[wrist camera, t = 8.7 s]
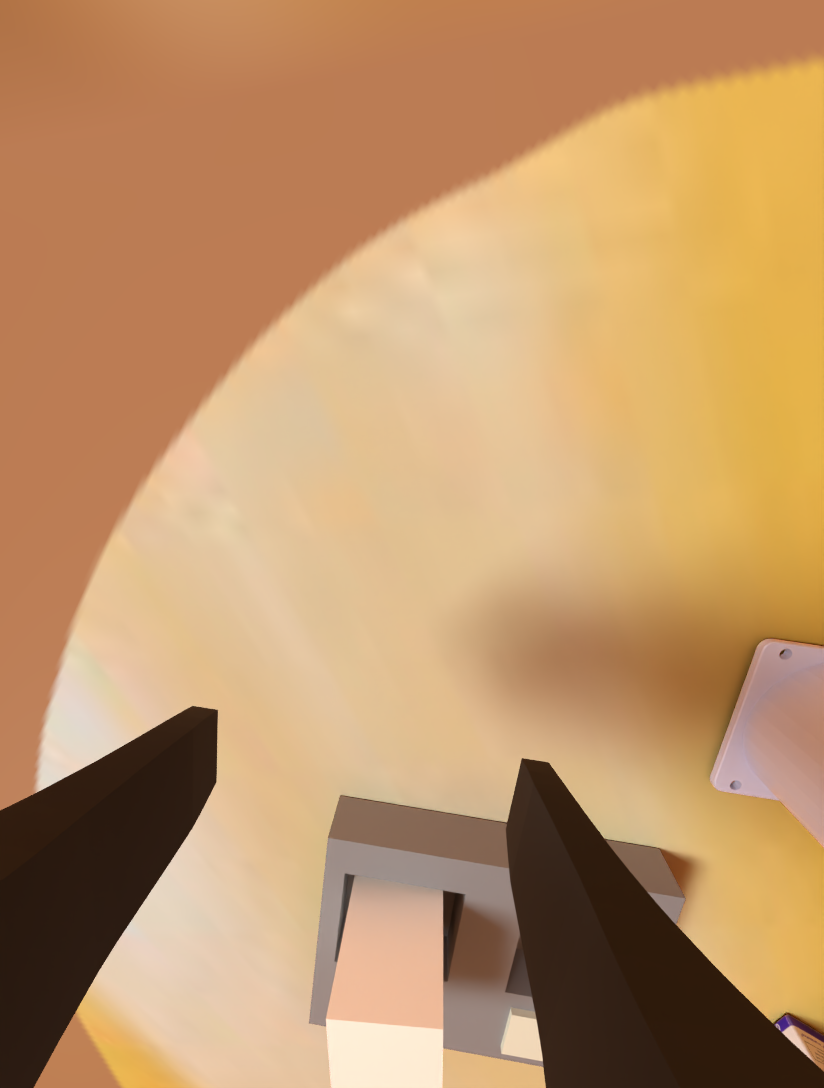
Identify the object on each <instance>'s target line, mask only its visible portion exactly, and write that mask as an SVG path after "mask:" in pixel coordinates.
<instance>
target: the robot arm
mask: <svg viewBox="0 0 824 1088" xmlns="http://www.w3.org/2000/svg"><path fill="white" fill-rule="evenodd" d="M784 649H785V651H784V653H783V654H781V655H779V654H780V652H781V651H782V650H784ZM217 721H218V710H215V709H208V708H202V707H196V706H192V707H190V708H188V709H186V710H184V711H183V712H181V713H179V714H177V715H176V716H174V717H172V718H170V719H169V720H167V721H165V722H163V723H162V724H160V725H158V726H157V727H155V728H153V729H151V730H150V731H148V732H146V733H145V734H143V735H141V736H140V737H138V738H136V739H134V740H133V741H131V742H129V743H127V744H126V745H124V746H122V747H120V748H119V749H117V750H115V751H113V752H112V753H110V754H108V755H106V756H105V757H103V758H101V759H99V760H98V761H96V762H94V763H92V764H90V765H88V766H86V767H84V768H83V769H81V770H79V771H77V772H75V773H73V774H71V775H69V776H68V777H66V778H64V779H62V780H60V781H58V782H56V783H54V784H52V785H51V786H49V787H47V788H45V789H43V790H41V791H39V792H37V793H35V794H33V795H31V796H29V797H27V798H25V799H23V800H21V801H19V802H17V803H15V804H13V805H11V806H9V807H7V808H5V809H3V810H1V811H0V1088H34V1086H35V1084H36V1082H37V1080H38V1078H39V1077H40V1075H41V1073H42V1071H43V1069H44V1067H45V1066H46V1064H47V1062H48V1060H49V1058H50V1056H51V1055H52V1053H53V1051H54V1049H55V1047H56V1046H57V1044H58V1042H59V1040H60V1038H61V1036H62V1035H63V1033H64V1031H65V1030H66V1028H67V1026H68V1024H69V1023H70V1021H71V1019H72V1017H73V1015H74V1014H75V1012H76V1010H77V1008H78V1007H79V1005H80V1003H81V1001H82V1000H83V998H84V996H85V994H86V993H87V991H88V989H89V987H90V986H91V984H92V982H93V980H94V978H95V977H96V975H97V973H98V972H99V970H100V968H101V967H102V965H103V964H104V962H105V960H106V959H107V957H108V955H109V954H110V952H111V951H112V949H113V947H114V946H115V944H116V943H117V941H118V940H119V938H120V937H121V935H122V934H123V932H124V931H125V929H126V928H127V926H128V925H129V923H130V922H131V920H132V919H133V917H134V916H135V914H136V913H137V911H138V910H139V908H140V907H141V905H142V904H143V902H144V901H145V899H146V898H147V896H148V895H149V893H150V892H151V890H152V889H153V887H154V886H155V884H156V883H157V881H158V880H159V878H160V877H161V875H162V874H163V872H164V871H165V869H166V868H167V866H168V865H169V863H170V862H171V860H172V858H173V857H174V855H175V854H176V852H177V851H178V849H179V848H180V846H181V845H182V843H183V842H184V840H185V839H186V837H187V836H188V834H189V832H190V831H191V829H192V828H193V826H194V824H195V822H196V820H197V819H198V817H199V815H200V813H201V811H202V809H203V807H204V805H205V803H206V801H207V799H208V797H209V795H210V793H211V791H212V789H213V787H214V786H215V784H216V774H217ZM733 781H735V782H733ZM710 782H711V783H712V785H713V786H714V787H715V788H716V789H717V790H719V791H723V792H729V793H735V794H741V795H748V796H754V797H760V798H766V799H772V800H779V801H781V803H782V804H783V805H784V806H785V807H786V808H787V809H788V810H789V811H790V812H791V813H792V814H793V815H794V816H795V817H796V819H797V820H798V821H799V822H800V823H801V824H802V825H803V826H804V827H805V828H806V829H807V830H808V831H809V832H810V833H811V835H812V836H813V837H814V838H815V839H816V840H817V841H818V842H819V843H820V844H821V845H822V846H823V847H824V646H819V645H812V644H805V643H798V642H791V641H785V640H778V639H765V640H763V641H762V642H760V643H759V645H758V646H757V648H756V651H755V654H754V657H753V659H752V662H751V665H750V668H749V670H748V673H747V676H746V679H745V681H744V684H743V687H742V690H741V692H740V695H739V698H738V701H737V703H736V706H735V709H734V712H733V715H732V717H731V720H730V723H729V726H728V728H727V731H726V734H725V737H724V739H723V742H722V745H721V748H720V750H719V753H718V756H717V759H716V761H715V764H714V767H713V770H712V772H711V775H710ZM731 782H733V783H731ZM506 839H507V852H508V863H509V874H510V883H511V888H512V894H513V899H514V905H515V910H516V915H517V921H518V926H519V931H520V936H521V942H522V947H523V952H524V957H525V962H526V968H527V973H528V978H529V983H530V988H531V994H532V999H533V1004H534V1009H535V1014H536V1020H537V1026H538V1032H539V1039H540V1045H541V1051H542V1058H543V1067H544V1075H545V1083H546V1088H824V1071H823V1070H822V1069H821V1068H820V1067H818V1066H817V1065H816V1064H815V1063H814V1062H813V1061H812V1060H811V1059H810V1058H809V1057H808V1056H806V1055H805V1054H804V1053H803V1052H802V1051H801V1050H800V1049H799V1048H798V1047H797V1046H796V1045H795V1044H793V1043H792V1042H791V1041H790V1040H789V1039H788V1038H787V1037H786V1036H785V1035H784V1034H783V1033H782V1032H781V1031H780V1030H779V1029H778V1028H777V1027H776V1026H775V1025H774V1024H773V1023H772V1022H771V1021H770V1020H769V1019H767V1018H766V1017H765V1016H764V1015H763V1014H762V1013H761V1012H760V1011H759V1010H758V1009H757V1008H756V1007H755V1006H754V1005H753V1004H752V1003H751V1002H750V1001H749V1000H748V999H747V998H746V997H745V996H744V995H743V994H742V993H741V992H740V991H739V990H738V989H737V988H736V987H735V986H734V985H733V984H732V983H731V982H730V981H729V980H728V979H727V978H726V977H725V976H724V975H723V974H722V973H721V972H720V971H719V970H718V969H717V968H716V967H715V966H714V965H713V964H712V963H711V962H710V961H709V960H708V959H707V957H706V956H705V955H704V954H703V953H702V952H701V951H700V950H699V949H698V948H697V947H696V946H695V945H694V944H693V943H692V941H691V940H690V939H689V938H688V937H687V936H686V935H685V934H684V933H683V932H682V931H681V930H680V929H679V928H678V926H677V925H676V924H675V923H674V922H673V921H672V920H671V919H670V918H669V916H668V915H667V914H666V913H665V912H664V911H663V910H662V909H661V907H660V906H659V905H658V904H657V903H656V902H655V900H654V899H653V898H652V897H651V896H650V894H649V893H648V892H647V891H646V890H645V889H644V887H643V886H642V885H641V884H640V883H639V881H638V880H637V879H636V878H635V877H634V875H633V874H632V873H631V872H630V871H629V869H628V868H627V867H626V866H625V864H624V863H623V862H622V861H621V859H620V858H619V857H618V856H617V854H616V853H615V852H614V851H613V849H612V848H611V847H610V845H609V844H608V843H607V842H606V840H605V839H604V838H603V836H602V835H601V834H600V832H599V831H598V830H597V828H596V827H595V826H594V824H593V823H592V822H591V820H590V819H589V818H588V816H587V815H586V814H585V812H584V811H583V810H582V808H581V807H580V805H579V804H578V803H577V801H576V800H575V798H574V797H573V796H572V794H571V793H570V792H569V790H568V789H567V787H566V786H565V785H564V783H563V782H562V780H561V779H560V778H559V776H558V775H557V773H556V772H555V771H554V769H553V768H552V767H551V765H550V764H549V763H548V762H542V761H536V760H529V759H523V758H522V760H521V765H520V769H519V774H518V778H517V782H516V787H515V791H514V796H513V800H512V804H511V809H510V813H509V817H508V822H507V826H506Z"/></svg>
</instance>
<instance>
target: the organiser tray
mask: <svg viewBox="0 0 824 1088" xmlns="http://www.w3.org/2000/svg"><path fill="white" fill-rule="evenodd" d="M506 826H507V823H502V822H496V821H490V820H484V819H478V818H472V817H466V816H460V815H454V814H448V813H442V812H436V811H430V810H424V809H418V808H412V807H406V806H400V805H394V804H387V803H381V802H375V801H369V800H363V799H357V798H351V797H345V796H340V798H339V801H338V805H337V808H336V812H335V815H334V819H333V822H332V826H331V829H330V833H329V836H328V843H327V853H326V863H325V872H324V882H323V892H322V902H321V911H320V921H319V931H318V941H317V951H316V960H315V970H314V980H313V990H312V1000H311V1009H310V1019H309V1023H310V1024H316V1025H321V1026H326V1016H327V1011H328V1006H329V1001H330V996H331V991H332V986H333V981H334V976H335V971H336V966H337V961H338V956H339V951H340V946H341V941H342V936H343V931H344V926H345V922H346V917H347V912H348V907H349V902H350V897H351V892H352V887H353V882H354V877H355V875H357V876H363V877H368V878H374V879H380V880H386V881H391V882H397V883H403V884H409V885H415V886H420V887H426V888H432V889H438V890H443V1048H445V1049H450V1050H456V1051H461V1052H466V1053H472V1054H477V1055H482V1056H488V1057H493V1058H499V1059H504V1060H509V1061H515V1062H520V1063H525V1064H531V1065H536V1066H542V1067H543V1058H542V1051H541V1045H540V1039H539V1032H538V1026H537V1020H536V1014H535V1009H534V1004H533V999H532V994H531V988H530V983H529V978H528V973H527V968H526V962H525V957H524V952H523V947H522V942H521V936H520V931H519V926H518V921H517V915H516V910H515V905H514V899H513V894H512V888H511V883H510V874H509V863H508V852H507V839H506ZM606 842H607V843H608V844H609V845H610V847H611V848H612V849H613V851H614V852H615V853H616V854H617V856H618V857H619V858H620V859H621V861H622V862H623V863H624V864H625V866H626V867H627V868H628V869H629V871H630V872H631V873H632V874H633V875H634V877H635V878H636V879H637V880H638V881H639V883H640V884H641V885H642V886H643V887H644V889H645V890H646V891H647V892H648V893H649V894H650V896H651V897H652V898H653V899H654V900H655V902H656V903H657V904H658V905H659V906H660V907H661V909H662V910H663V911H664V912H665V913H666V914H667V915H668V916H669V918H670V919H671V920H672V921H673V922H674V923H675V924H676V923H677V920H678V918H679V915H680V912H681V910H682V907H683V904H684V902H685V899H686V898H685V896H684V894H683V892H682V891H681V889H680V887H679V885H678V883H677V881H676V879H675V877H674V876H673V874H672V872H671V870H670V868H669V866H668V864H667V862H666V861H665V859H664V857H663V855H662V853H661V851H660V849H659V848H653V847H647V846H641V845H634V844H628V843H622V842H616V841H610V840H606Z"/></svg>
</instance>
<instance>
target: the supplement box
mask: <svg viewBox="0 0 824 1088" xmlns="http://www.w3.org/2000/svg"><path fill="white" fill-rule="evenodd" d="M774 1025H775V1026H776V1027H777V1028H778V1029H779V1030H780V1031H781V1032H782V1033H783V1034H784V1035H785V1036H786V1037H787V1038H788V1039H789V1040H790V1041H791V1042H792V1043H793V1044H795V1045H796V1046H797V1047H798V1048H799V1049H800V1050H801V1051H802V1052H803V1053H804V1054H805V1055H806V1056H808V1057H809V1058H810V1059H811V1060H812V1061H813V1062H814V1063H815V1064H816V1065H817V1066H818V1067H820V1068H821V1069H822V1070H823V1071H824V1035H822V1034H821V1033H819V1032H817V1031H816V1030H814V1029H812V1028H811V1027H809V1026H808V1025H806V1024H804V1023H802V1022H801V1021H799V1020H797V1019H796V1018H794V1017H792V1016H790V1015H785V1016H784V1017H782V1018H781V1019H780V1020H779V1021H777V1022H776V1023H775V1024H774Z"/></svg>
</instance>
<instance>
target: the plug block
mask: <svg viewBox="0 0 824 1088" xmlns="http://www.w3.org/2000/svg"><path fill="white" fill-rule="evenodd" d="M326 1027H327V1041H328V1054H329V1068H330V1081H331V1088H442V1071H443V890H438V889H432V888H426V887H420V886H415V885H409V884H403V883H397V882H391V881H386V880H380V879H374V878H368V877H363V876H357V875H355V877H354V882H353V887H352V892H351V897H350V902H349V907H348V912H347V917H346V922H345V926H344V931H343V936H342V941H341V946H340V951H339V956H338V961H337V966H336V971H335V976H334V981H333V986H332V991H331V996H330V1001H329V1006H328V1011H327V1016H326Z"/></svg>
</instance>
